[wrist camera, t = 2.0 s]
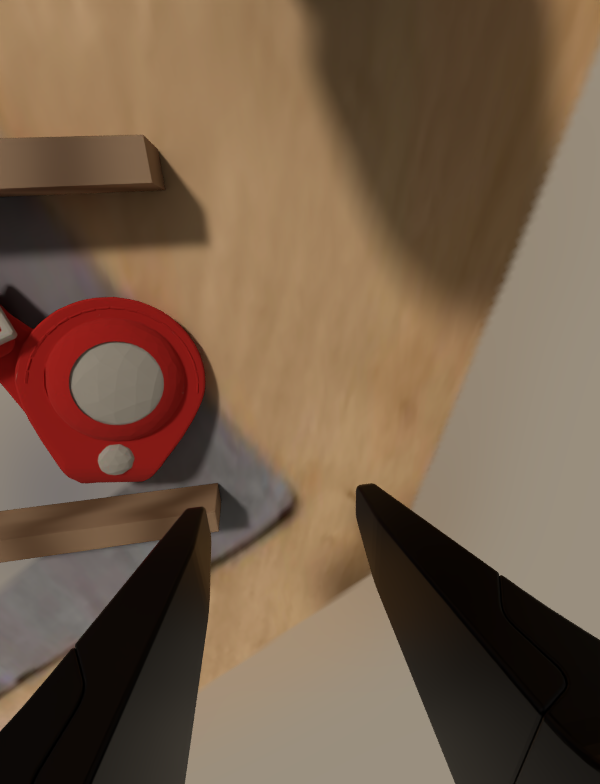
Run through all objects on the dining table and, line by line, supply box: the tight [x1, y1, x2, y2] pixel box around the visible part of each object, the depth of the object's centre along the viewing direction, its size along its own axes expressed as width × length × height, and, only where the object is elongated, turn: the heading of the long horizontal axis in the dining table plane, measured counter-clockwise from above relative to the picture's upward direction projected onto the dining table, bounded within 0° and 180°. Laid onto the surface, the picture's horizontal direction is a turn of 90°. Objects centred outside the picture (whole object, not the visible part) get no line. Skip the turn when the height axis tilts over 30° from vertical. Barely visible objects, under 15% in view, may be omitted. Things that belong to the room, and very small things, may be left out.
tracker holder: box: [0, 297, 205, 483], centre depth 17 cm, size 12×4×10 cm
